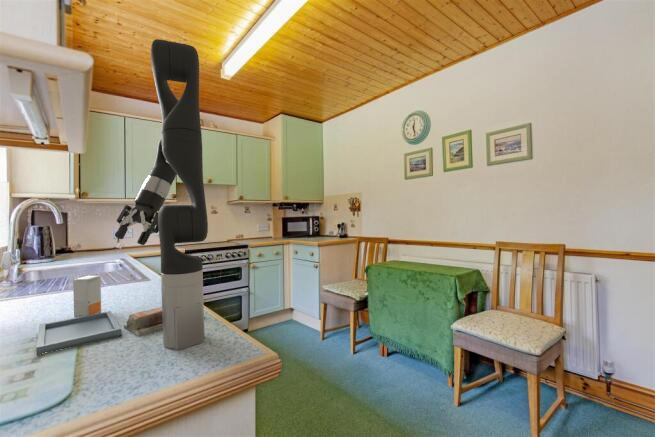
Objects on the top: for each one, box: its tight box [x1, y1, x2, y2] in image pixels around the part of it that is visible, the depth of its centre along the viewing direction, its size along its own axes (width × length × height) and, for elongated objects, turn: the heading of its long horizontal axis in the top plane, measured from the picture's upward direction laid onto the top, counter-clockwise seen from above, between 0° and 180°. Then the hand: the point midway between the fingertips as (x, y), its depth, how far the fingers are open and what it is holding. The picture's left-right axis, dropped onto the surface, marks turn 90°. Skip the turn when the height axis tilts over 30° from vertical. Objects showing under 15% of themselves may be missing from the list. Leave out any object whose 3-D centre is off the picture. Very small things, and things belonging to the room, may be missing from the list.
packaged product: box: [123, 306, 163, 337], centre depth 90 cm, size 18×5×10 cm
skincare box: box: [72, 275, 102, 318], centre depth 97 cm, size 6×4×12 cm
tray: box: [36, 310, 122, 356], centre depth 83 cm, size 20×16×2 cm
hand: (129, 241), depth 94 cm, fingers open, 8 cm apart
